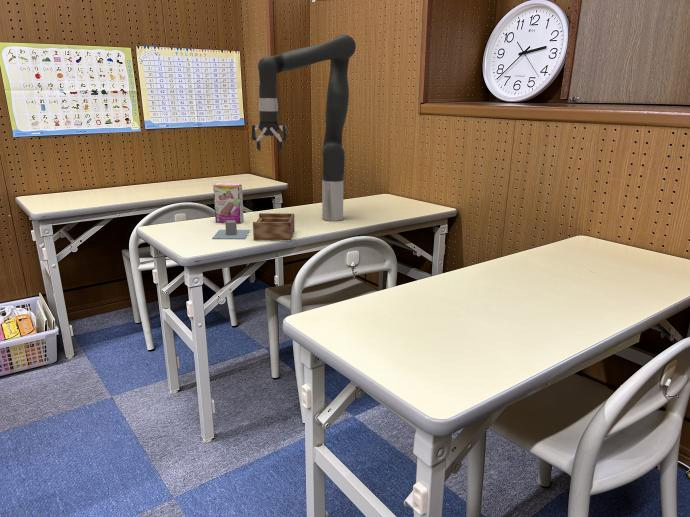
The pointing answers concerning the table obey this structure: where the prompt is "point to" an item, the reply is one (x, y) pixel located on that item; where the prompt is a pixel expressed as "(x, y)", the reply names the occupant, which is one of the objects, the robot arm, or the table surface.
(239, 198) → the candy bar box
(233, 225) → the lid
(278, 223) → the wooden box
